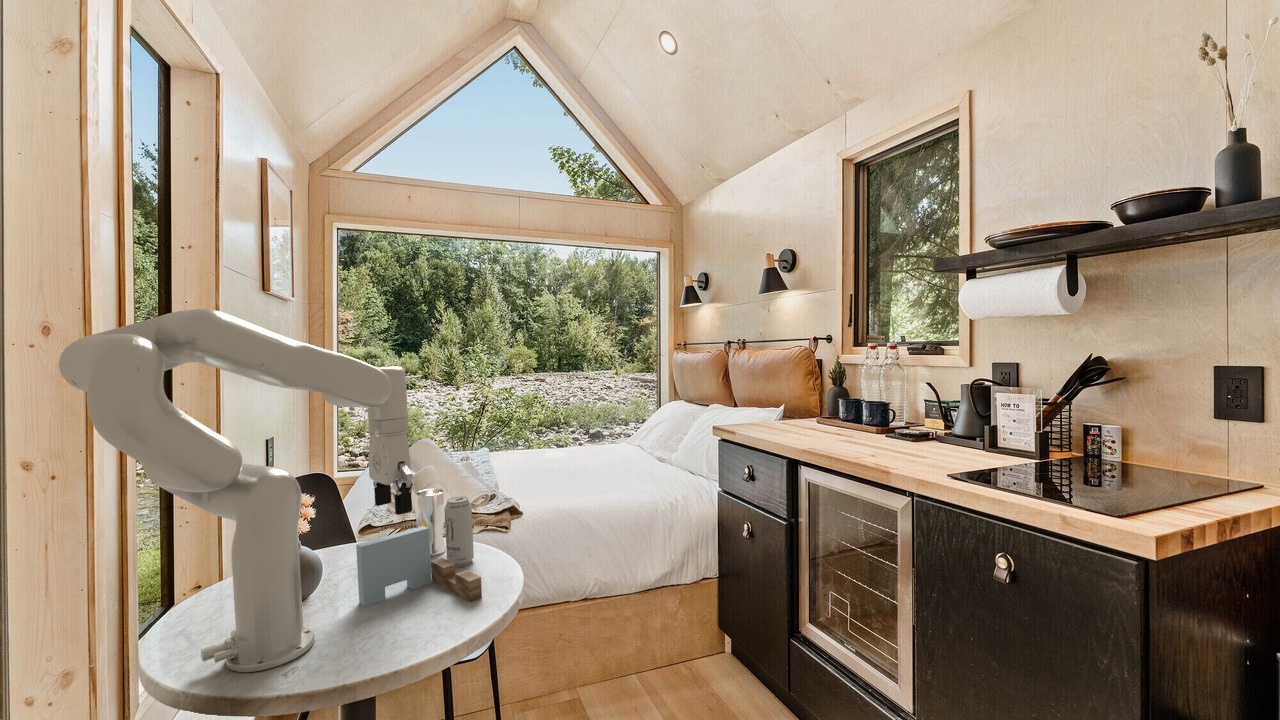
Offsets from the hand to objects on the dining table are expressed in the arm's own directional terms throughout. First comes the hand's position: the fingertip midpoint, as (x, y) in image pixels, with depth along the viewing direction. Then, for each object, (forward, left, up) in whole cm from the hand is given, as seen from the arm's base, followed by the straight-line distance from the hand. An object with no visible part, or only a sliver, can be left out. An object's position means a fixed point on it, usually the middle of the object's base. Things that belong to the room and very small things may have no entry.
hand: (393, 508), depth 118 cm
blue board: (0, 0, -18) cm, 18 cm away
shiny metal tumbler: (+16, +16, -18) cm, 29 cm away
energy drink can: (+17, +4, -18) cm, 25 cm away
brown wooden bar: (+9, -8, -18) cm, 21 cm away
